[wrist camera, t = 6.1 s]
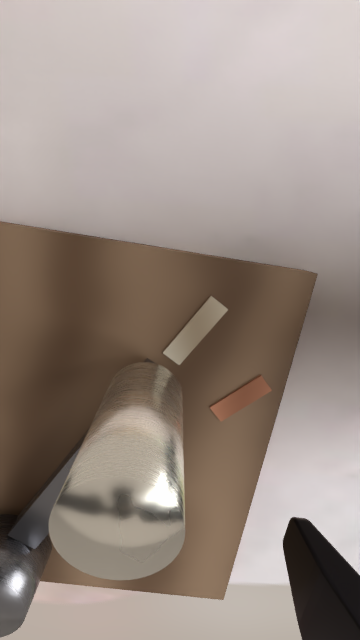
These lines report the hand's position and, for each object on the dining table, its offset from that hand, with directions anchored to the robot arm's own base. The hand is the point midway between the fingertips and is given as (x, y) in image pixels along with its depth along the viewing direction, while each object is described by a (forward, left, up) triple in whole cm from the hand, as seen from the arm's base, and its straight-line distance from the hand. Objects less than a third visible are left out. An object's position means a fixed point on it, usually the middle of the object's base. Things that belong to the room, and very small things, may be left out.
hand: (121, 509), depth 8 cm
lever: (+3, +6, -6) cm, 9 cm away
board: (+5, +4, -8) cm, 10 cm away
